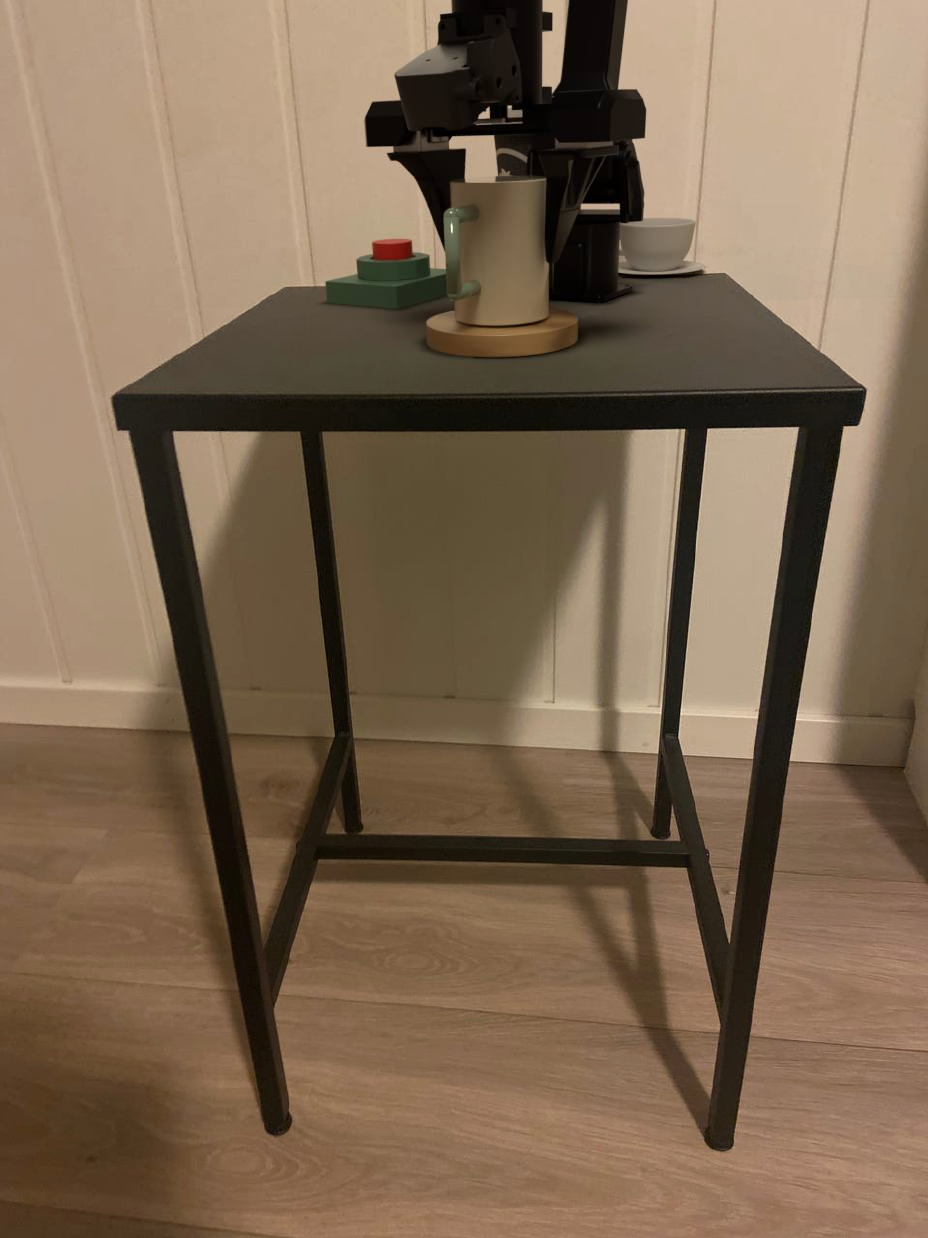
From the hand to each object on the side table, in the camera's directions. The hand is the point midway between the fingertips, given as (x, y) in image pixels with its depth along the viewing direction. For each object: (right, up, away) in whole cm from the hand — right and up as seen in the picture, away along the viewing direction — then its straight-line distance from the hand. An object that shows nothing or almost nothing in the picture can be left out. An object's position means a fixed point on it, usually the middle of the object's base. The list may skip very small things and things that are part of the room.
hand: (500, 259), depth 66 cm
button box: (-9, +5, +21) cm, 23 cm away
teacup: (+17, +10, +29) cm, 35 cm away
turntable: (0, -5, +3) cm, 6 cm away
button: (-9, +7, +19) cm, 23 cm away
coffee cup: (+5, +8, +26) cm, 28 cm away
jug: (0, -3, +2) cm, 4 cm away
